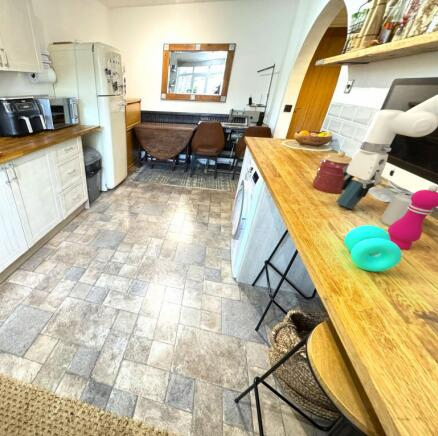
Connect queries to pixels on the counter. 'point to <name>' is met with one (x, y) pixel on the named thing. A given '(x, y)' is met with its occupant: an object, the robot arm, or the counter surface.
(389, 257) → the donuts
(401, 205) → the can
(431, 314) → the counter surface
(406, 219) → the pepper mill
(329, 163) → the kitchen canister
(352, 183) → the cup
